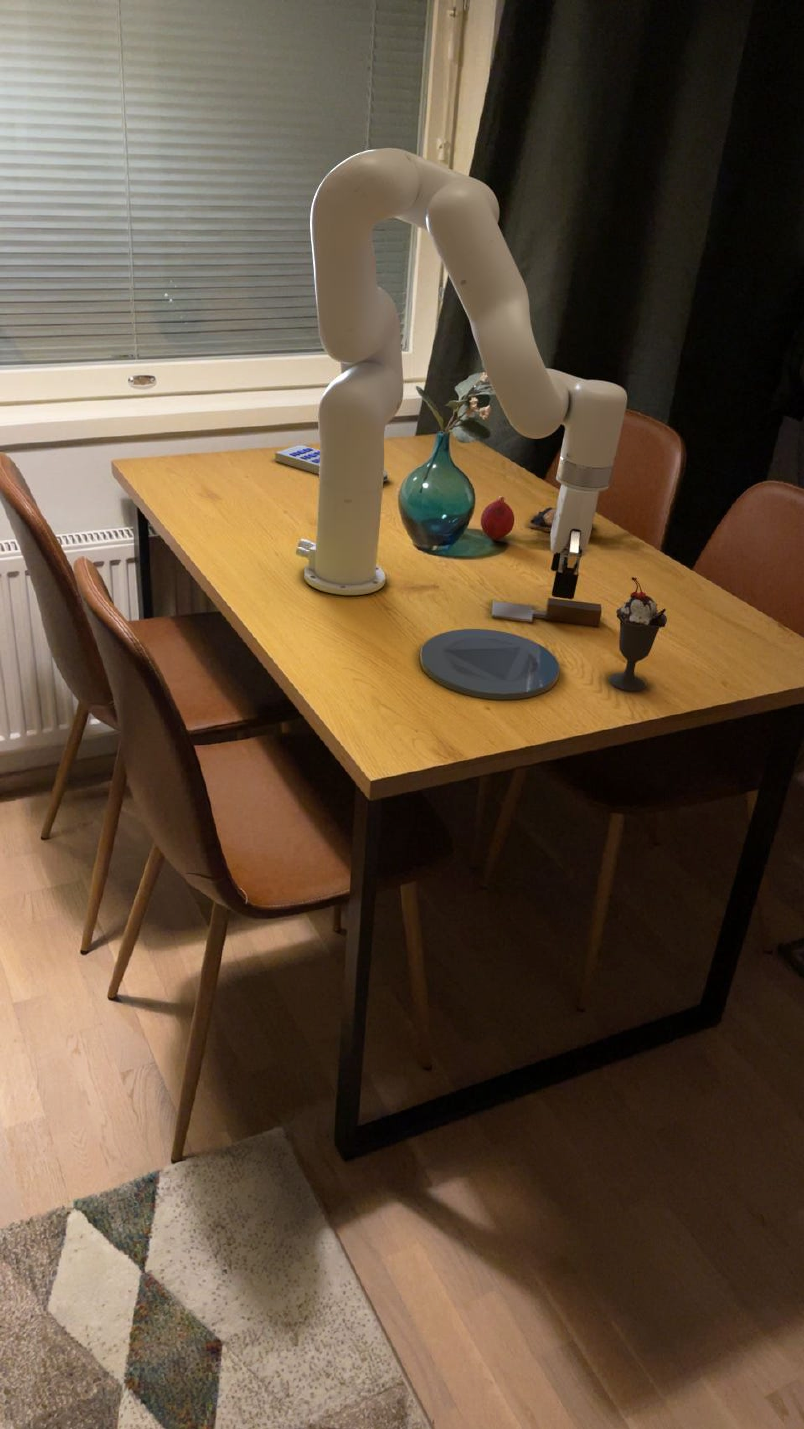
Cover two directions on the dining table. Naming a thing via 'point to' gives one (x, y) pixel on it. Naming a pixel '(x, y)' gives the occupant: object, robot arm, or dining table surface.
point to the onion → (497, 519)
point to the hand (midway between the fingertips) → (561, 584)
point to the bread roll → (544, 520)
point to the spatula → (551, 612)
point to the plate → (489, 664)
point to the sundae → (636, 636)
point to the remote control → (304, 458)
